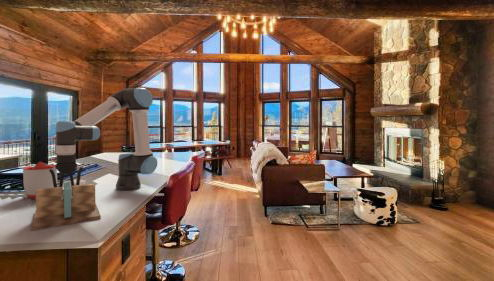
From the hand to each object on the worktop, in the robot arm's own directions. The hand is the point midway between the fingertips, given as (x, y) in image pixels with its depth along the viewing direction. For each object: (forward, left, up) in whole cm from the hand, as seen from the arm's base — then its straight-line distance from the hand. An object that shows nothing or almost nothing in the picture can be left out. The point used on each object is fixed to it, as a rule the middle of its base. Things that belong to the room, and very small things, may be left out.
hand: (67, 202), depth 124 cm
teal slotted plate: (0, +7, -2) cm, 7 cm away
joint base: (0, +6, -4) cm, 8 cm away
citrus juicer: (+12, -40, -5) cm, 42 cm away
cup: (-3, -23, -5) cm, 23 cm away
